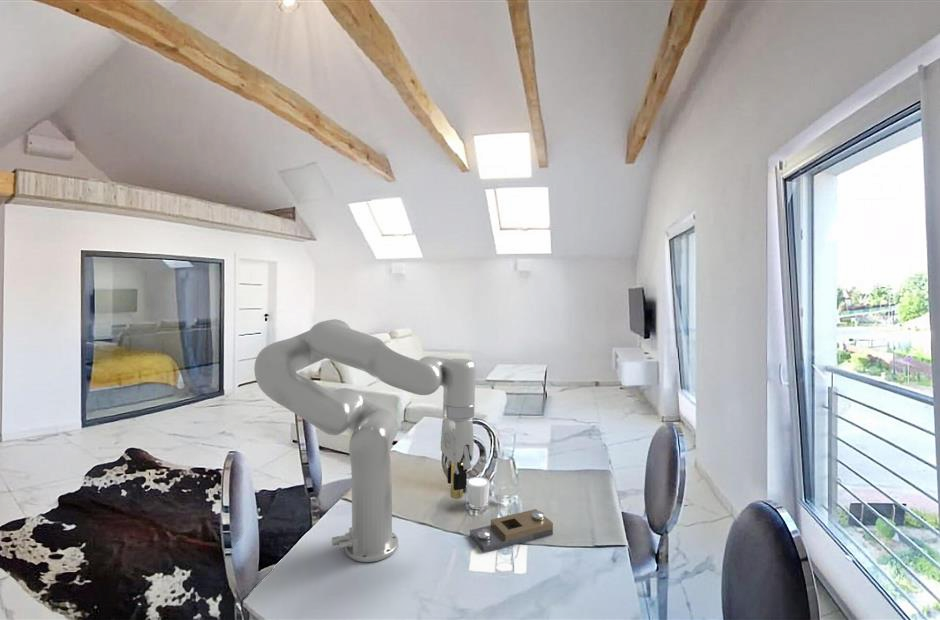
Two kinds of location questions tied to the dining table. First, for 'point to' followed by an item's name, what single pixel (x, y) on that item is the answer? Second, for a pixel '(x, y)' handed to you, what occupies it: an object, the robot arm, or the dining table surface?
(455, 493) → the brass pin
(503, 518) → the bolted fixture plate
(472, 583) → the dining table surface
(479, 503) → the white pillar candle
